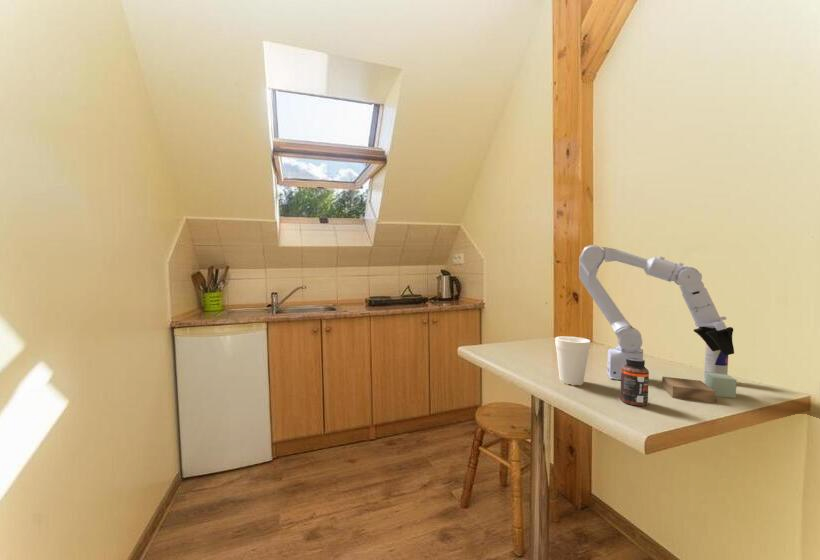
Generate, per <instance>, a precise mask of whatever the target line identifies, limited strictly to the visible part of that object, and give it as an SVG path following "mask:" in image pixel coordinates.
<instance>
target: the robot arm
mask: <svg viewBox="0 0 820 560" xmlns="http://www.w3.org/2000/svg"><path fill="white" fill-rule="evenodd" d="M603 262H606V263H610V262H618V263H622V264H625V265H629V266H633V267H636V268H639V269H642V270H644V272H645V275H647V276H650V277H654V278H657V279H659V280H663V281H666V282H668V283H669V282H674V283H675V285H677V286H678V287H679V289H680V291H681V293H682V294H681V295H682V298H683V300H684V301H685V304H686V306H687V308H688V309H689V313H690V315H691V316H692V319H693V321H694V325H695V327H697V328H694V329H693V332H694V333H695V334H696V335H698V336H700V338H701V339H702V340H703V341H704V343H705V345H706V344H707V345H708V346H709V348H710V349H711V350H712V351H717V350H721V352H722V353H723V354H724V355H725V356H726V355H728V356H729V355H735V349H734V348H735V347H734V342H733V333H734V327H731V326H728V327H727V325H726V324H725V322H724V321H725V320H727V317H726V316H720V314H719V312H718V310H717V307H716V306H715V303H714V302H713V300H712V298H711V296H710V294H709V291H708V288H706V287H705V284H704V282H703V281H702V279H703V275H702V273H701V272H700V271H699V270H698V269H696V268H695V267H692V266H684V263H682V262H679V263H677V262H674V261H670V260H667V259H665V257H663V256H659V257H656V256H653V257H651V258H648V259H647V258H644V257H641V256H638V255H635V254H632V253H629V252H626V251H623V250H619V249H617V248H613V247H607V246H606V247H605V246H601V247H600V246H599V245H597V244H589V245H587V246H585V247H584V248H583V249H582V251H581V253H580V255H579V257H578V263H579V264H578V265H579V269H578V278H579V280H580V282H581V284H582V285H583V287H584V288H585V289H586V291H587V292H588V294H589V295H590V297H591V298H592V299H593V301H594V303H595V304H596V305H597V307H598V308H599V311H601V313H602V314H603V315H604V318H606V320H607V322H608V324H609V325H610V326H611V328H612V330H613V332H614V333H615V335H616V337H617V343H618V345H616V346H615V348H608V350H607V362H606V363H607V364H606V373H607V376H608V377H609V378H610V379H611V380H618V381H621V369H622V366H624V365H626V364H627V363H626V358H627V357H635V358H640V359H643V360H644V349H642V348H641V347H642V346H643V338H642V334H641V332H640V331H639V330H638V329H637V328H635V327H634V326H632V325H631V323H630V322H629V321H628V320H627V319H626V316H624V314H623V313H622V311H621V310H620V308H619V307H618V306H617V305H616V303H615V302H614V301H613V299H612V297H611V296H610V294H609V293H608V291H606V289H605V287H604V286H603V285H602V283H601V282H600V280H599V279H598V278H597V275H598V271H599V268H600V266H601V265H602V263H603Z"/></svg>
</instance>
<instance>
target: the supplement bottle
mask: <svg viewBox="0 0 820 560" xmlns="http://www.w3.org/2000/svg"><path fill="white" fill-rule="evenodd" d="M626 363H627V364H626V365H624V366H622V369H621V380H620V391H619V392H620V400H621V401H622V403H625V404H628V405H631V406H635V407H644V406H647V405H648V402H649V380H650V379H649V377H650V376H649V375H650V372H649V369H648V368H646V367H645V364H646V361H645V359H644V358H643V359H640V358H635V357H627V358H626Z"/></svg>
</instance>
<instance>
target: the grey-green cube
mask: <svg viewBox="0 0 820 560" xmlns="http://www.w3.org/2000/svg"><path fill="white" fill-rule="evenodd" d="M704 383H705V384H706V385H707V386H709V387H710V388H712V389H713V390H714V391H715V397H716V396H717V397H725V398H731V397H733V398H732V399H736V397H737V379H736V378H734V377H732V376H730V375H729V374H727V375H725V374H715V373H705V378H704Z"/></svg>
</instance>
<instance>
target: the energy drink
mask: <svg viewBox="0 0 820 560" xmlns="http://www.w3.org/2000/svg"><path fill="white" fill-rule="evenodd" d="M704 354H705V355H704V371H703V373H704V376H703V377H704V379H705V373H715V374H725V375H728V373H729V372H728V370H729V369H728V368H729V367H728V365H729V355H726V356H725V355H724V354H723V353H722V352H721V350H717V351H712V350H711V349H710V348H709V346H708V345H707V344H706V343H705V352H704Z"/></svg>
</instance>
